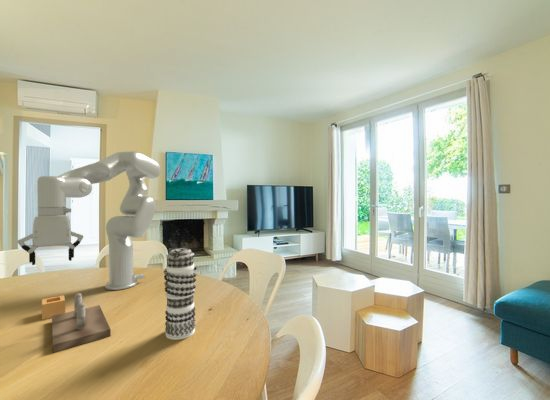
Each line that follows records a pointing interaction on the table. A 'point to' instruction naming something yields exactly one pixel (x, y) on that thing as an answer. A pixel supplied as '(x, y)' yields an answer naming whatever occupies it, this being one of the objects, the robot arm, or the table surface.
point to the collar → (53, 306)
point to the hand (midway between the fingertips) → (52, 262)
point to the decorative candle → (180, 294)
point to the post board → (78, 326)
